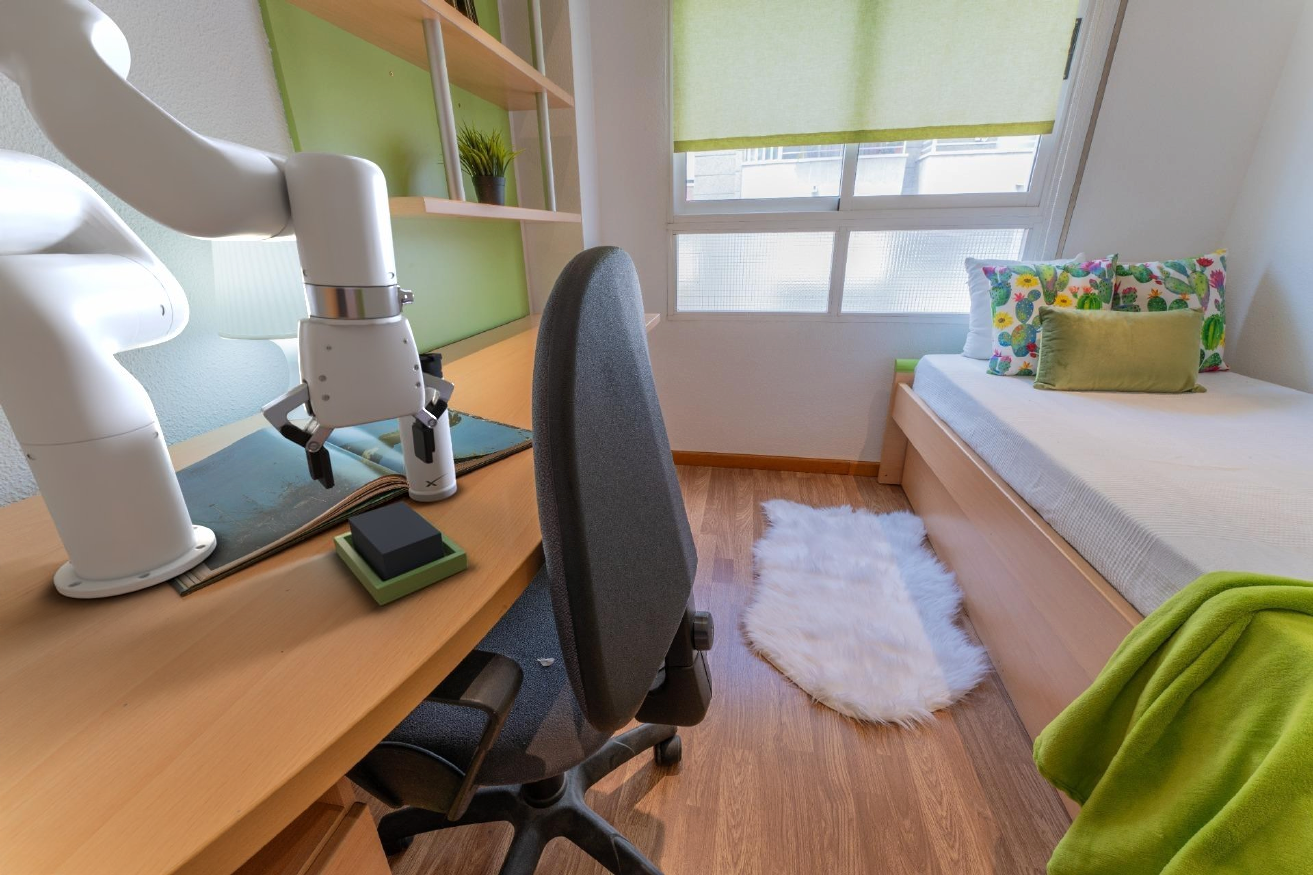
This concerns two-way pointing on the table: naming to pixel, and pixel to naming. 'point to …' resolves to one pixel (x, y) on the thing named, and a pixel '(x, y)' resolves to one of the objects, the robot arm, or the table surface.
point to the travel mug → (439, 475)
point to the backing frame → (406, 582)
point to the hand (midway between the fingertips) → (378, 471)
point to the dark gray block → (395, 540)
